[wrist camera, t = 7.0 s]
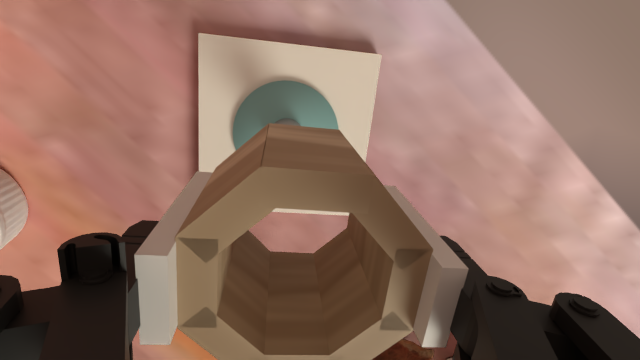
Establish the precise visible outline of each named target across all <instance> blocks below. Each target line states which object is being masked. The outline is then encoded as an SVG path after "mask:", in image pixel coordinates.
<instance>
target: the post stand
mask: <svg viewBox="0 0 640 360" xmlns="http://www.w3.org/2000/svg"><path fill="white" fill-rule="evenodd" d="M381 56H382V55H381V54H372V53H364V52H356V51H347V50H339V49H330V48H322V47H313V46H305V45H297V44H288V43H280V42H271V41H263V40H255V39H246V38H238V37H229V36H221V35H213V34H204V33H198V76H199V172H212V173H213V172H214V170H215V168H216V167H217V166H218V165H219V164H221V163H222V162H223V161H224V160H225V159H227V158H228V157H229V156H230V155H231V154H233V153H234V152H235V151H236V150H237V149H239V148H240V147H241V146H242V145H243V144H245V143H246V142H247V141H248V140H249V139H251V138H252V137H253V136H254V135H255V134H257V133H258V132H259V131H260V130H261V129H263V128H264V127H265V126H266V125H267V124H268V123H273V124H284V125H294V126H305V127H315V128H326V129H337V130H340V131H341V133H342V134H343V135H344V136H345V138H346V139H347V140H348V141H349V143H350V144H351V145H352V146H353V148H354V149H355V150H356V152H357V153H358V154H359V155H360V157H361V158H362V159H363V160H364V162H366V155H367V148H368V142H369V135H370V129H371V122H372V115H373V109H374V102H375V96H376V89H377V82H378V76H379V69H380V63H381ZM272 212H288V213H308V214H328V215H348V216H349V213H347V212H331V211H315V210H299V209H282V208H275V209H274V210H273V211H272Z"/></svg>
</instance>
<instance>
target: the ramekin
mask: <svg viewBox="0 0 640 360" xmlns="http://www.w3.org/2000/svg"><path fill="white" fill-rule="evenodd" d="M27 217H28V204H27V199H26V196H25V195H24V193H23V191H22V189H21V187H20V186H19V185H18V184H17V182H16V181H15V180H14V179H13V178H12V177H11V176H10V175H9V174H7V173H6V172H5V171H3V170H2V169H0V249H1V248H3V247H4V246H5V245H6V244H7V243H9V242H10V241H11V240H12V239H13V238H14V237H16V236H17V235H18V233H19V232H20V231H21V230H22V229H23V227H24V225H25V223H26V220H27Z"/></svg>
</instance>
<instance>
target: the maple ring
mask: <svg viewBox="0 0 640 360" xmlns="http://www.w3.org/2000/svg"><path fill="white" fill-rule="evenodd" d="M275 208H282V209H299V210H315V211H331V212H347V213H349V218H348V225H347V228H346V229H345V230H344V231H342V232H341V233H340V234H338V235H337V236H336V237H335V238H333V239H332V240H331V241H329V242H328V243H327V244H325V245H324V246H323V247H321V248H320V249H319V250H317V251H316V252H315V253H291V252H270V251H269V250H268V249H267V248H266V247H265V246H264V245H263V244H262V243H261V242H260V241H259V240H258V239H257V238H256V237H255V236H254V235H253V234H252V233H251V232H250V231H249V229H250V228H251V227H253V226H254V225H255V224H256V223H258V222H259V221H260V220H262V219H263V218H264V217H265V216H267V215H268V214H269V213H270V212H272V211H273V210H274V209H275ZM175 241H176V268H177V316H178V325H177V327H178V329H179V330H180V331H182V332H183V333H184V334H186V335H187V336H188V337H189V338H191V339H192V340H193V341H195V342H196V343H197V344H199V345H200V346H201V347H202V348H204V349H205V350H206V351H208V352H209V353H210V354H212V355H213V356H214V357H215V358H217V359H218V360H372V359H373V358H375V357H376V356H378V355H379V354H381V353H382V352H384V351H385V350H386V349H388V348H389V347H391V346H392V345H394V344H395V343H397V342H398V341H400V340H401V339H403V338H404V337H405V336H407V335H408V334H410V333H411V332H412V331H413V326H414V322H415V318H416V314H417V310H418V306H419V302H420V298H421V294H422V290H423V286H424V282H425V278H426V274H427V270H428V266H429V262H430V258H431V254H432V253H433V248H432V247H431V245H430V244H429V243H428V242H427V240H426V239H425V238H424V237H423V235H422V234H421V233H420V231H419V230H418V229H417V228H416V226H415V225H414V224H413V223H412V221H411V220H410V219H409V217H408V216H407V215H406V214H405V212H404V211H403V210H402V209H401V207H400V206H399V205H398V204H397V202H396V201H395V200H394V198H393V197H392V196H391V195H390V193H389V192H388V191H387V190H386V188H385V187H384V186H383V184H382V183H381V182H380V181H379V179H378V178H377V177H376V176H375V174H374V173H373V172H372V170H371V169H370V168H369V167H368V165H367V164H366V163H365V162H364V160H363V159H362V158H361V157H360V155H359V154H358V153H357V152H356V150H355V149H354V148H353V146H352V145H351V144H350V143H349V141H348V140H347V139H346V138H345V136H344V135H343V134H342V133H341V131H340V130H337V129H326V128H315V127H305V126H294V125H284V124H273V123H268V124H267V125H266V126H265V127H264V128H263V129H261V130H260V131H259V132H258V133H257V134H255V135H254V136H253V137H252V138H251V139H249V140H248V141H247V142H246V143H245V144H243V145H242V146H241V147H240V148H239V149H237V150H236V151H235V152H234V153H233V154H231V155H230V156H229V157H228V158H227V159H225V160H224V161H223V162H222V163H221V164H219V165H218V166H217V167H216V168H215V170H214V172H213V173H212V175H211V177H210V179H209V180H208V182H207V184H206V185H205V187H204V189H203V190H202V192H201V194H200V195H199V197H198V199H197V200H196V202H195V204H194V206H193V207H192V209H191V211H190V212H189V214H188V216H187V217H186V219H185V221H184V222H183V224H182V226H181V227H180V229H179V231H178V233H177V234H176V236H175Z"/></svg>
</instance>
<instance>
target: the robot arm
mask: <svg viewBox="0 0 640 360" xmlns="http://www.w3.org/2000/svg"><path fill="white" fill-rule="evenodd" d="M211 175H212V172H199V171H197V172H196V173H195V174H194V176H193V177H192V178H191V180H190V181H189V182H188V184H187V185H186V186H185V188H184V189H183V190H182V192H181V193H180V194H179V196H178V197H177V198H176V200H175V201H174V202H173V204H172V205H171V206H170V208H169V209H168V210H167V212H166V213H165V214H164V216H163V217H162V218H161V220H160V221H145V220H142V221H140V222H138V223H136V224H134V225H133V226H131V227H129V228H128V229H127V230H126V232H125V233H124V234H123V235H122V237H121V236H119V235H117V234H112V233H91V234H85V235H81V236H78V237H75V238H72V239H70V240H68V241H66V242H65V243H63V244H62V245H61V246H60V247H59V248H58V250H57V251H58V258H59V265H60V272H61V279H62V282H61V285H60V286H55V287H50V288H44V289H37V290H30V291H23V292H21V287H20V283H19V281H18V279H16V278H14V277H12V276H6V275H0V360H133V350H132V340H133V338H134V337H135V335H136V333H137V331H138V329H139V337H140V345H170V343H171V341H172V338H173V336H174V333H175V330H176V328H177V325H178V316H177V268H176V241H175V236H176V234H177V233H178V231H179V229H180V227H181V226H182V224H183V222H184V221H185V219H186V217H187V216H188V214H189V212H190V211H191V209H192V207H193V206H194V204H195V202H196V200H197V199H198V197H199V195H200V194H201V192H202V190H203V189H204V187H205V185H206V184H207V182H208V180H209V179H210V177H211ZM383 186H384V187H385V188H386V190H387V191H388V192H389V193H390V195H391V196H392V197H393V198H394V200H395V201H396V202H397V204H398V205H399V206H400V207H401V209H402V210H403V211H404V212H405V214H406V215H407V216H408V217H409V219H410V220H411V221H412V223H413V224H414V225H415V226H416V228H417V229H418V230H419V231H420V233H421V234H422V235H423V237H424V238H425V239H426V240H427V242H428V243H429V244H430V245H431V247H432V248H433V253H432V254H431V258H430V262H429V266H428V270H427V274H426V278H425V282H424V286H423V290H422V294H421V298H420V302H419V306H418V310H417V314H416V318H415V322H414V326H413V330H414V332H415V334H416V336H417V338H418V340H419V342H420V344H421V346H422V347H446V345H447V342H448V338H449V335H450V331H451V332H452V333H453V335H454V337H455V338H456V340H457V345H456V348H455V352H454V355H453V358H452V360H640V339H639V338H638V337H637V336H636V335H635V334H634V333H632V332H631V331H630V330H629V329H628V328H627V327H626V326H625V325H623V324H622V323H621V322H620V321H619V320H618V319H617V318H615V317H614V316H613V315H612V314H611V313H610V312H609V311H607V310H606V309H605V308H603V307H602V306H601V305H599V304H597V303H596V302H594V301H592V300H591V299H589V298H587V297H585V296H584V297H582V295H579V294H572V293H559V294H557V295H556V296H555V298H554V301H553V303H552V306H550V305H546V304H542V303H537V302H533V301H529V300H528V299H527V297H526V295H525V294H524V292H523V291H522V290H521V289H520V288H518V287H517V286H516V285H514V284H512V283H510V282H508V281H506V280H504V279H501V278H498V277H493V276H488V275H487V274H486V273H485V272H484V271H483V270H482V269H481V268H480V267H479V266H478V265H477V264H476V263H475V261H474V260H473V259H471V257H470V256H469V255H468V254H467V253H465V251H464V250H463V249H462V248H461V247H460V246H459V245H458V244H457V243H456V242H454V241H453V240H451V239H449V238H448V237H446V236H439V235H438V234H437V233H436V232H435V230H434V229H433V228H432V227H431V226H430V225H429V224H428V223H427V221H426V220H425V219H424V218H423V217H422V216H421V215H420V214H419V212H418V211H417V210H416V209H415V208H414V207H413V206H412V205H411V203H410V202H409V201H408V200H407V199H406V198H405V197H404V196H403V194H402V193H401V192H400V191H399V190H398V189H397V188H396V187H395V186H386V185H383Z"/></svg>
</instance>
